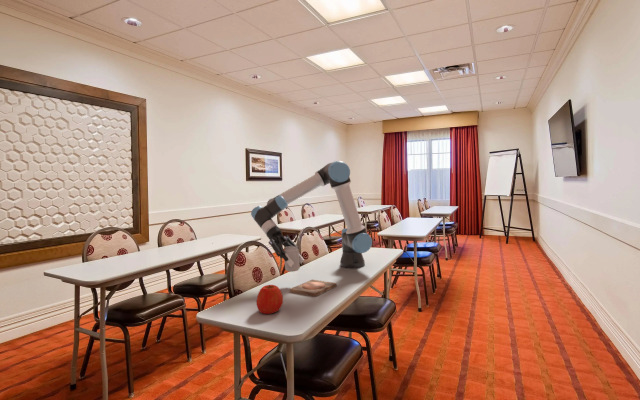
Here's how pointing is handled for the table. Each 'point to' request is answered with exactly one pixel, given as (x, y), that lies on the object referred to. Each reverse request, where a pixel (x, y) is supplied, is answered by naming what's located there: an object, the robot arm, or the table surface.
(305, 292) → the board
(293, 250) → the can
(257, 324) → the table surface
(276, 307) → the apple
